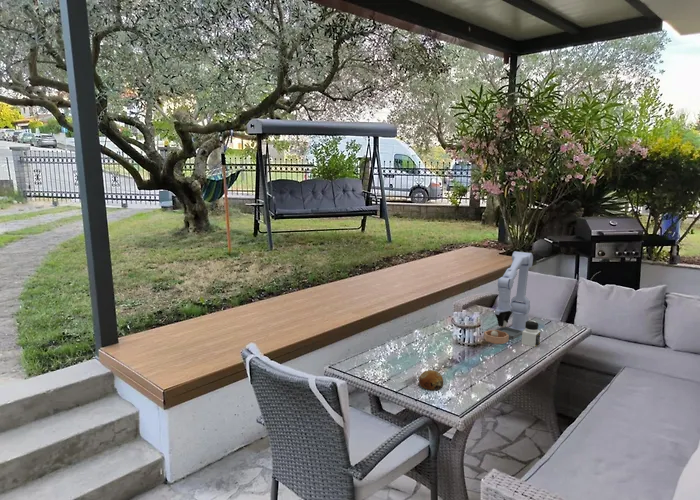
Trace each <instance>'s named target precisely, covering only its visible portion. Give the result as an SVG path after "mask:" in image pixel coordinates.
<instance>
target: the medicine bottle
mask: <svg viewBox="0 0 700 500" xmlns="http://www.w3.org/2000/svg"><path fill="white" fill-rule="evenodd" d="M540 341H541V330H539V323H538V322H537V321H535V320H528V321H527V322H526V326H525V330H523V332H522V335H521V345H525V346H529V347H534V348H536V347H538V346H539V345H540Z"/></svg>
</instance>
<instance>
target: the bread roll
mask: <svg viewBox="0 0 700 500" xmlns="http://www.w3.org/2000/svg"><path fill="white" fill-rule="evenodd" d="M443 378H444V377H443V375H442V374H441V373H440V372H439V371H436V370H432V369H429V370H425V371H423V372H422V373H421V374H420V375H419V377H418V384H419V385H420V386H421V388H423V389H425V390H426V391H427V390H428V391H437V390H438V391H439V390H440V389H441V388H442V387H443V386H444V379H443Z"/></svg>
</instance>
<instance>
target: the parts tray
mask: <svg viewBox="0 0 700 500" xmlns="http://www.w3.org/2000/svg"><path fill="white" fill-rule="evenodd" d="M510 327H511V326H506V327H504V328H503V327H500V326H499V327H498V328H495V329H494V330H499V331H503V332H506V333H507V334H508V335H509V340H512V341H513V340H515V339H517V338H519V337H522V332H523V331H524V330H523V331H521V330H517V329H513V328H510Z"/></svg>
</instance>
